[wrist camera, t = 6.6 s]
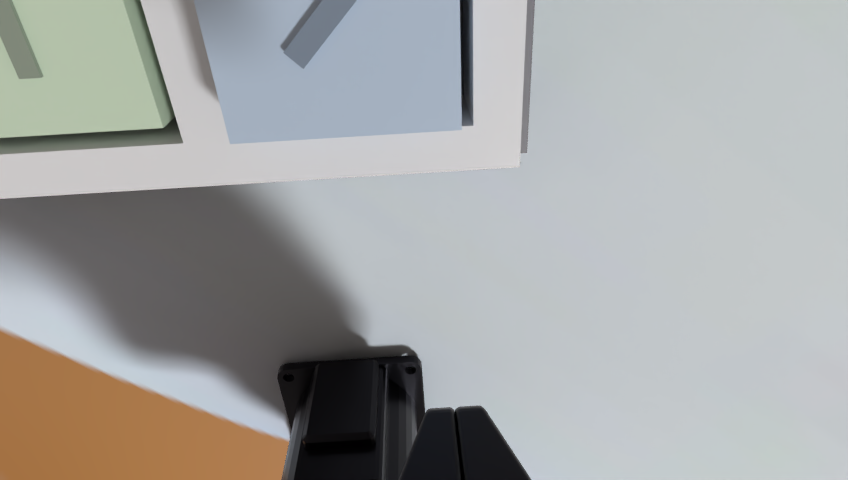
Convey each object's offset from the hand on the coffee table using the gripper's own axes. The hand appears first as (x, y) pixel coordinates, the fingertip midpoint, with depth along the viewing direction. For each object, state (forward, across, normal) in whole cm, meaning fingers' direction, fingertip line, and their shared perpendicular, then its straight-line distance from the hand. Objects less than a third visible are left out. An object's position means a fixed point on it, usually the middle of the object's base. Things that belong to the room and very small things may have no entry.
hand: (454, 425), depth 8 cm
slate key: (+8, +2, -5) cm, 10 cm away
